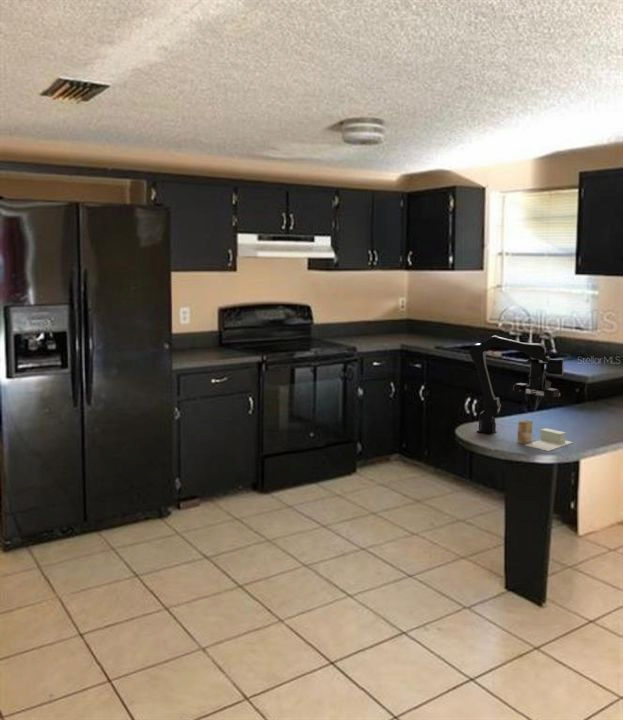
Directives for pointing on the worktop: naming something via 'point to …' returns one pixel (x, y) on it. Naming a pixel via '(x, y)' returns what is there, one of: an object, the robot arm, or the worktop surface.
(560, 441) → the sage block
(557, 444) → the mat
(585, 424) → the worktop surface
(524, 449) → the worktop surface
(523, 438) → the oak block
